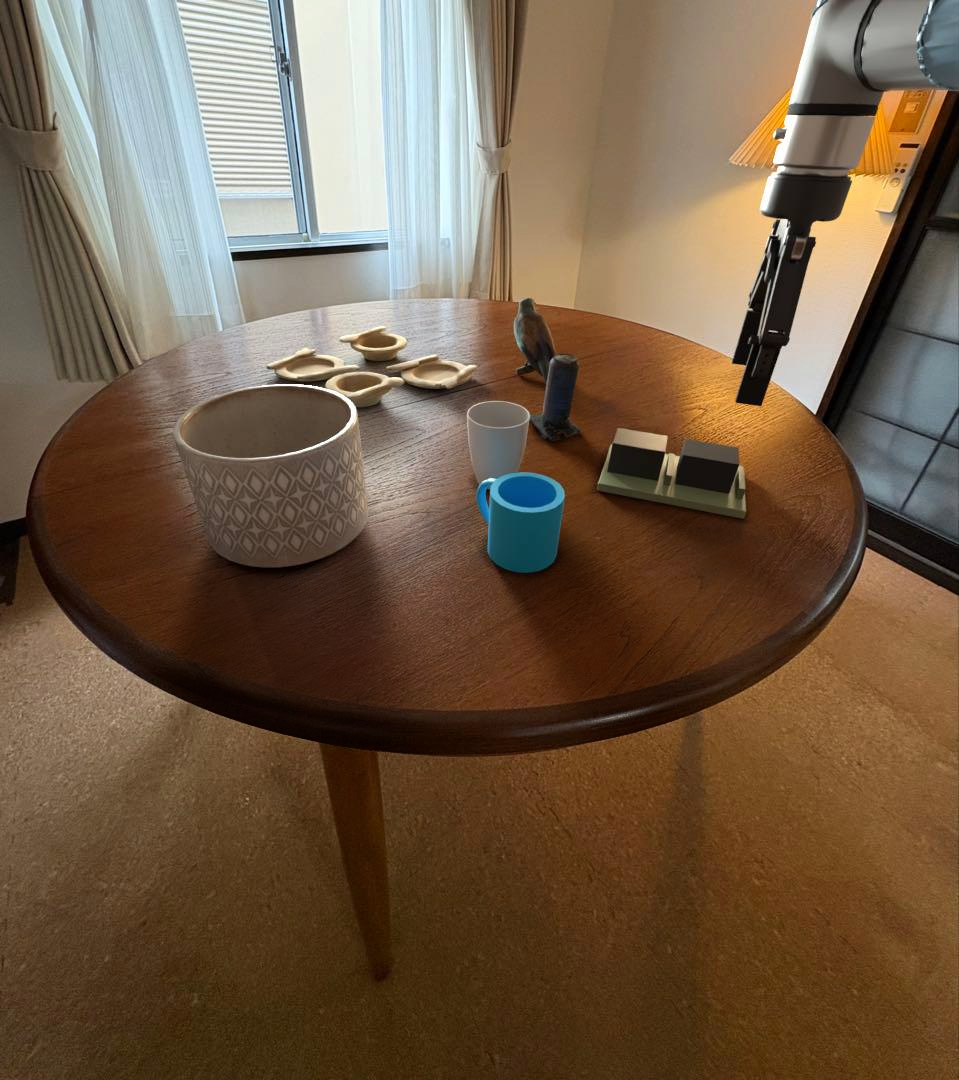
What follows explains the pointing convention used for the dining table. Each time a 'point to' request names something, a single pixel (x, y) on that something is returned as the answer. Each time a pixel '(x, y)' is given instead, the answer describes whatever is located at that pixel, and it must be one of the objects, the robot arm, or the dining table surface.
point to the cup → (496, 438)
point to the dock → (662, 476)
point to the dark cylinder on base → (558, 398)
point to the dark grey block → (707, 466)
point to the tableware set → (370, 385)
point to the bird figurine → (533, 339)
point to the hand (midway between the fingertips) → (745, 382)
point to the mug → (522, 520)
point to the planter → (275, 473)
